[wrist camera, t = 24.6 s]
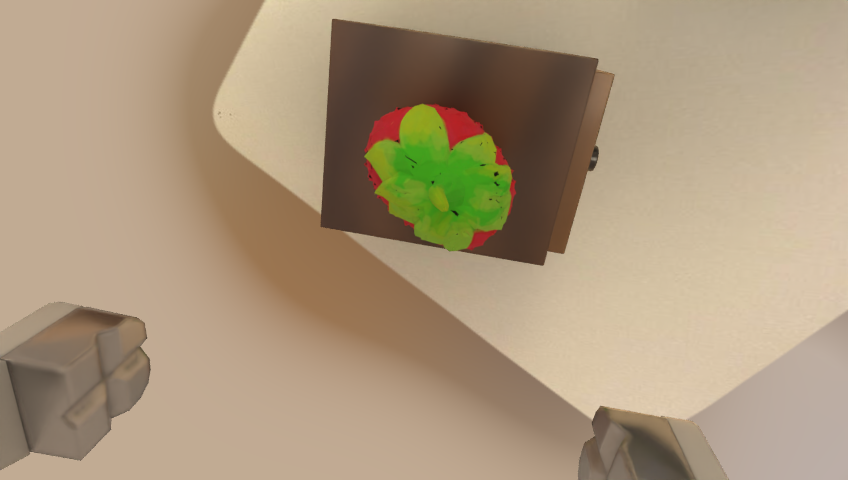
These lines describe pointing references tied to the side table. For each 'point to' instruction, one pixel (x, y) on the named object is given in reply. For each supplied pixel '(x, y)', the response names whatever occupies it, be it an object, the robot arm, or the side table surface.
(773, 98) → the side table surface
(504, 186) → the strawberry
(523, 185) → the nightstand
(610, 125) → the side table surface
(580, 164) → the wooden drawer
